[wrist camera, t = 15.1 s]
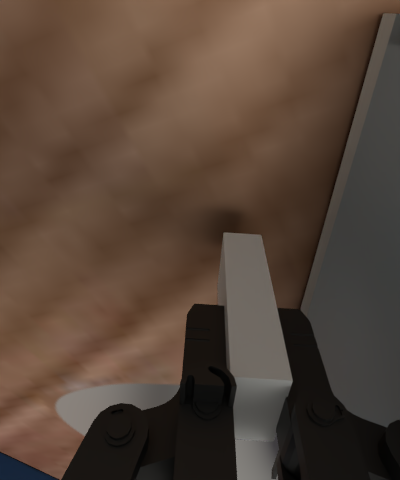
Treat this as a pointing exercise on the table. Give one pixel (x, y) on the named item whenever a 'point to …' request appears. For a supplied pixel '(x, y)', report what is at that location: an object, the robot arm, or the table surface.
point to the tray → (364, 249)
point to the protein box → (19, 470)
